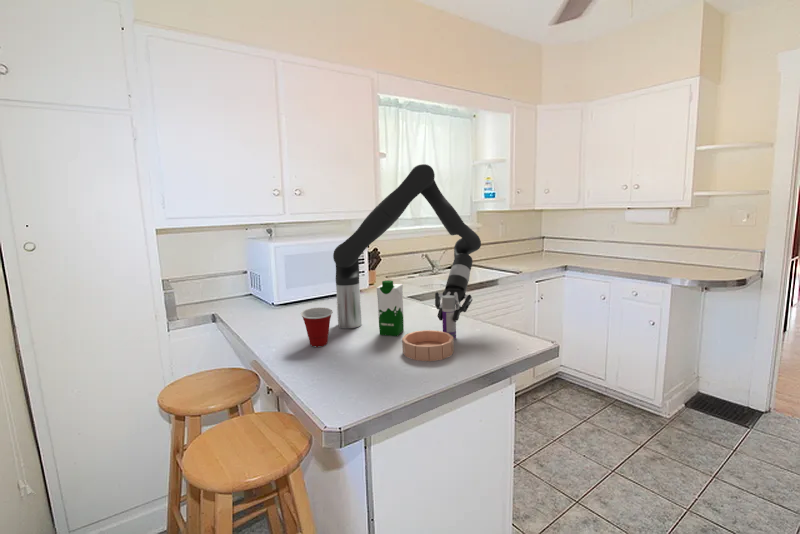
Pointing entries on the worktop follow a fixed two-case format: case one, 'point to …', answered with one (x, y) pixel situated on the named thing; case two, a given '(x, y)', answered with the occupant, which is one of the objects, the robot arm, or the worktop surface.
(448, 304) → the container
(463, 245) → the robot arm
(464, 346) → the worktop surface
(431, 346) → the bowl
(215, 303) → the worktop surface
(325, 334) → the plastic cup
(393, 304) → the milk carton
